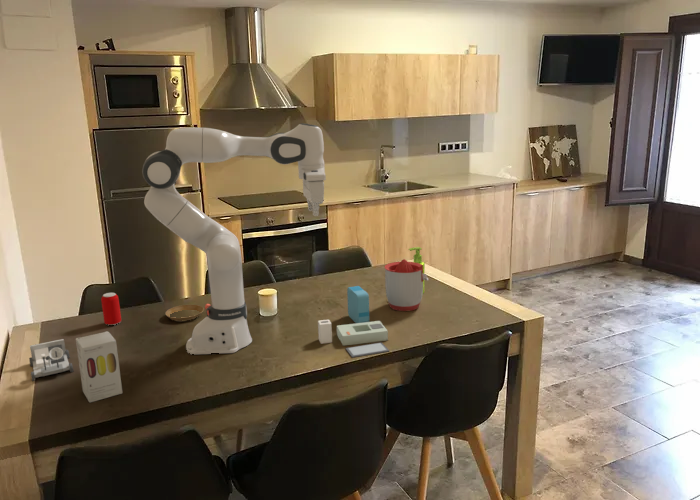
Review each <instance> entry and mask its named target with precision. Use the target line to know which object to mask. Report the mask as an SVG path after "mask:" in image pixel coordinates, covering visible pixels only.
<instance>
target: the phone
mask: <svg viewBox="0 0 700 500" xmlns="http://www.w3.org/2000/svg"><path fill="white" fill-rule="evenodd" d="M345 350H346V352H347V353H348V354H349V356H350V357H351V358H352V359H354V358H359V357H365V356H370V355H375V354H376V355H377V354H382V353H387V352H388V353H389V352H390V349H389V348H388V347H387V346H385V344H384V343H383V341H380V342H374V343H371V344H370V343H369V344H368V343H367V344H363V345H356V346H351V347H345Z"/></svg>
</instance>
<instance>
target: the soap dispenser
mask: <svg viewBox="0 0 700 500" xmlns="http://www.w3.org/2000/svg"><path fill="white" fill-rule="evenodd" d="M421 250H422V247H420V246H419V247H418V246H416V247H410V248H408V251H410V252H412V251H415V254H413V262H415V263H419V264H422V265H423V273H424V274H425V271H426V269H425V262H424V261H422V260H423V259H422V258H423V255H421V253H420V252H421ZM423 294H425V280H423Z"/></svg>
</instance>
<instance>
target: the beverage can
mask: <svg viewBox="0 0 700 500" xmlns="http://www.w3.org/2000/svg"><path fill="white" fill-rule="evenodd" d="M100 300H101V301H100V302H101V310H102V315H103V322H104V324H105V325H107V324H108V325H107V326H109V325H112V324H113V325H114V326H117V325H119V324H120V323H121V322H122V314H121V306H120V299H119V295H117V293H115V292H106V293H104V294H103V295H102V296H101V298H100ZM118 323H119V324H118ZM116 324H117V325H116Z"/></svg>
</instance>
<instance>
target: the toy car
mask: <svg viewBox="0 0 700 500" xmlns="http://www.w3.org/2000/svg"><path fill="white" fill-rule="evenodd" d="M29 348H30V355H31V357H29V358H28V359H29V365H30V367H32V368H33V371H30V376H31V381H32V382H35V381H36V378H39V377H45V376H46V377H47V376H50V375H55V374H58V373H63V372H67V371H70V373H74V367H73V363H72V362H69V358H70V353H69V352H70V351H69V349H66V344H65V339H64V338H61V339H56V340H52V341H47V342H41V343H37V344H36V343H35V344H32V345H29Z"/></svg>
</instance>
